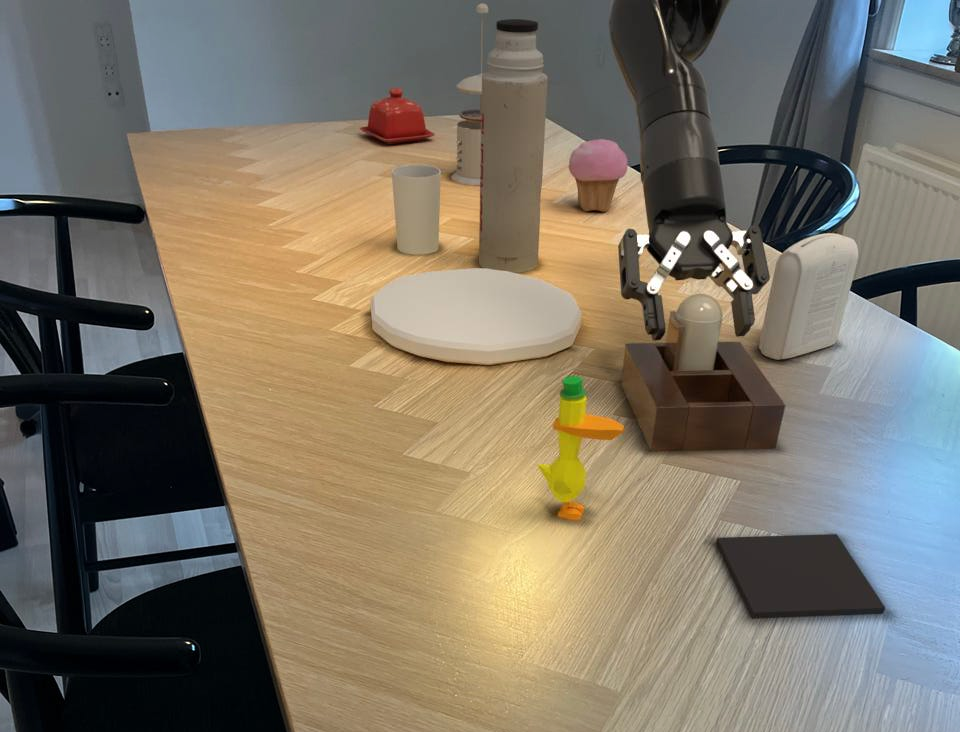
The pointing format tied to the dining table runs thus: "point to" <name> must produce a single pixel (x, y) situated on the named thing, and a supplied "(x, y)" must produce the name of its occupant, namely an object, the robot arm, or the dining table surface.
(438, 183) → the drinking glass
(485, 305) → the decorative plate
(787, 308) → the photo printer
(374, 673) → the dining table surface
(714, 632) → the dining table surface
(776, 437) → the box
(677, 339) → the dome-topped cream cylinder
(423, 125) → the butter dish
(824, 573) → the mat
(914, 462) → the dining table surface
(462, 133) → the french press
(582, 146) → the cupcake
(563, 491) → the toy figure
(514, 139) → the thermos bottle
